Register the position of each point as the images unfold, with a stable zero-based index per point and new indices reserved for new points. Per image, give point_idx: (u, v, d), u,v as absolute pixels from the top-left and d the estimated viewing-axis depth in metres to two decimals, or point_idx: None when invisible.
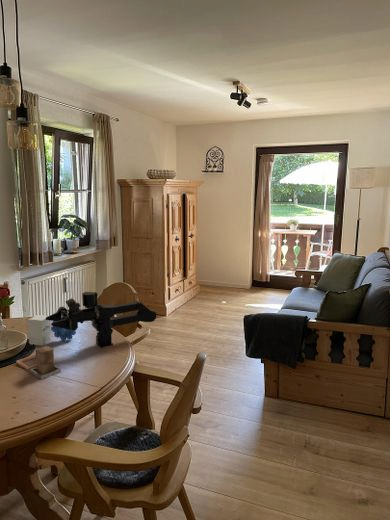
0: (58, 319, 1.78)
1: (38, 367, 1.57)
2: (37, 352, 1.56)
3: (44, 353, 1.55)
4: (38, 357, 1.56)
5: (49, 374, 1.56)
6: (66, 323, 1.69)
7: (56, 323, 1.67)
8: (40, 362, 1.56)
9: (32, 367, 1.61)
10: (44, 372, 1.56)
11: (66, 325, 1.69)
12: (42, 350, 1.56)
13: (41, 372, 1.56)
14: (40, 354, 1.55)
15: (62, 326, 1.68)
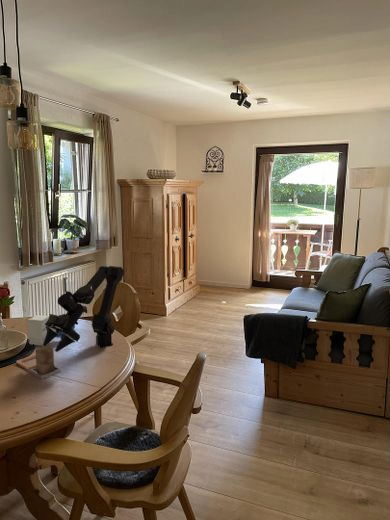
0: (54, 335, 1.66)
1: (38, 367, 1.57)
2: (37, 352, 1.56)
3: (44, 353, 1.55)
4: (38, 357, 1.56)
5: (49, 374, 1.56)
6: (67, 339, 1.58)
7: (59, 347, 1.56)
8: (40, 362, 1.56)
9: (32, 367, 1.61)
10: (44, 372, 1.56)
11: (68, 341, 1.58)
12: (42, 350, 1.56)
13: (41, 372, 1.56)
14: (40, 354, 1.55)
15: (66, 344, 1.58)
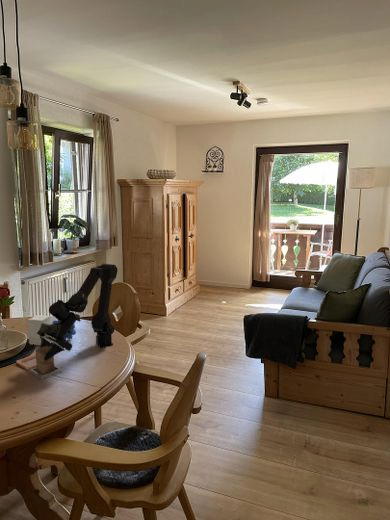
0: (48, 345, 1.62)
1: (38, 367, 1.57)
2: (37, 352, 1.56)
3: (44, 353, 1.55)
4: (38, 357, 1.56)
5: (49, 374, 1.56)
6: (56, 347, 1.57)
7: (48, 355, 1.55)
8: (40, 362, 1.56)
9: (32, 367, 1.61)
10: (44, 372, 1.56)
11: (58, 349, 1.57)
12: (42, 350, 1.56)
13: (41, 372, 1.56)
14: (40, 354, 1.55)
15: (55, 353, 1.57)
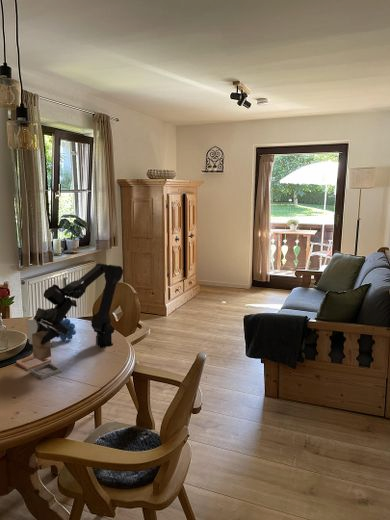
0: (45, 330, 1.63)
1: (35, 352, 1.58)
2: (33, 337, 1.57)
3: (40, 337, 1.56)
4: (34, 342, 1.57)
5: (49, 374, 1.56)
6: (52, 332, 1.58)
7: (44, 340, 1.56)
8: (37, 346, 1.57)
9: (32, 367, 1.61)
10: (40, 357, 1.57)
11: (54, 333, 1.58)
12: (38, 335, 1.57)
13: (38, 356, 1.57)
14: (37, 339, 1.56)
15: (52, 337, 1.58)
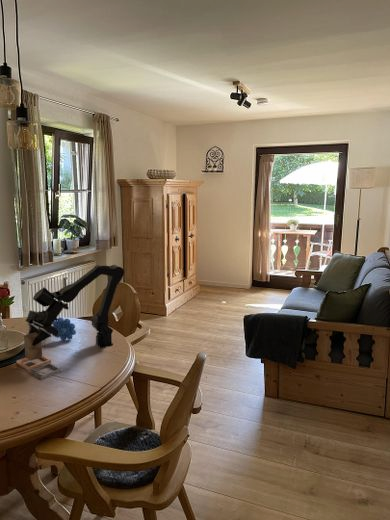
0: (37, 332, 1.70)
1: (26, 352, 1.65)
2: (25, 338, 1.64)
3: (32, 338, 1.62)
4: (26, 343, 1.64)
5: (49, 374, 1.56)
6: (43, 333, 1.65)
7: (36, 341, 1.63)
8: (28, 347, 1.63)
9: (32, 367, 1.61)
10: (32, 357, 1.63)
11: (45, 335, 1.65)
12: (30, 336, 1.64)
13: (29, 357, 1.64)
14: (28, 340, 1.62)
15: (43, 338, 1.65)
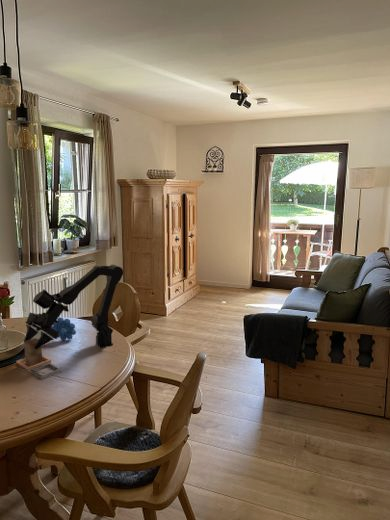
0: (34, 333, 1.71)
1: (27, 358, 1.65)
2: (25, 344, 1.64)
3: (32, 344, 1.63)
4: (26, 349, 1.64)
5: (49, 374, 1.56)
6: (46, 337, 1.64)
7: (38, 344, 1.62)
8: (28, 353, 1.64)
9: (32, 367, 1.61)
10: (32, 363, 1.64)
11: (47, 338, 1.64)
12: (30, 342, 1.64)
13: (29, 363, 1.64)
14: (28, 346, 1.63)
15: (45, 342, 1.63)
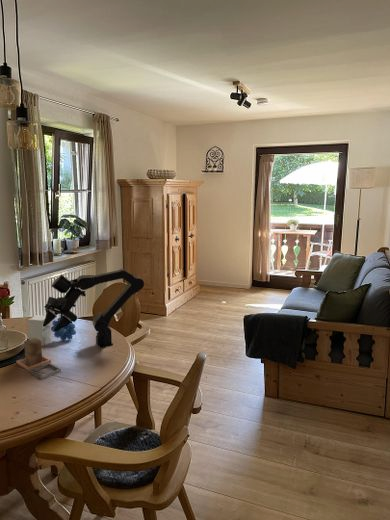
0: (53, 317, 1.77)
1: (27, 358, 1.65)
2: (25, 344, 1.64)
3: (32, 344, 1.63)
4: (26, 349, 1.64)
5: (49, 374, 1.56)
6: (65, 320, 1.70)
7: (57, 327, 1.68)
8: (28, 353, 1.64)
9: (32, 367, 1.61)
10: (32, 363, 1.64)
11: (66, 321, 1.70)
12: (30, 342, 1.64)
13: (29, 363, 1.64)
14: (28, 346, 1.63)
15: (64, 325, 1.70)
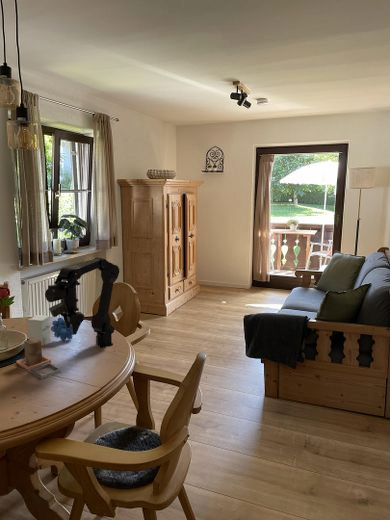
0: None
1: (27, 358, 1.65)
2: (25, 344, 1.64)
3: (32, 344, 1.63)
4: (26, 349, 1.64)
5: (49, 374, 1.56)
6: (75, 321, 1.63)
7: (74, 330, 1.64)
8: (28, 353, 1.64)
9: (32, 367, 1.61)
10: (32, 363, 1.64)
11: (78, 321, 1.64)
12: (30, 342, 1.64)
13: (29, 363, 1.64)
14: (28, 346, 1.63)
15: (78, 325, 1.64)
